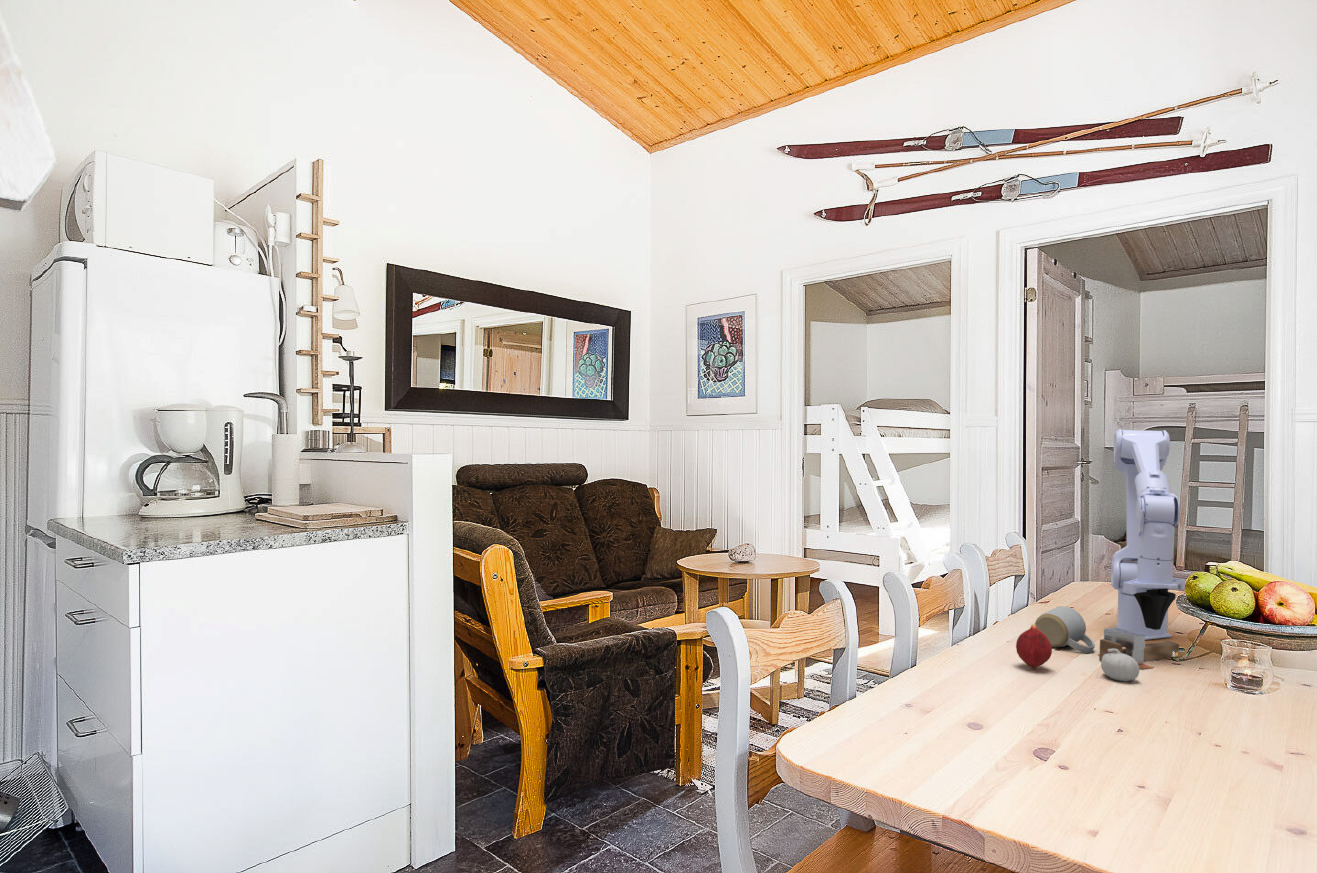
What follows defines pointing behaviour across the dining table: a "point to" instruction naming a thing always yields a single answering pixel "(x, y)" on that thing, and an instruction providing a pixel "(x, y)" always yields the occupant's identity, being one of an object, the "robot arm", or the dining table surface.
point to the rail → (1150, 651)
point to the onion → (1033, 647)
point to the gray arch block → (1127, 642)
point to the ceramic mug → (1065, 628)
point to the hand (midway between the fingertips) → (1152, 628)
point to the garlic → (1119, 666)
